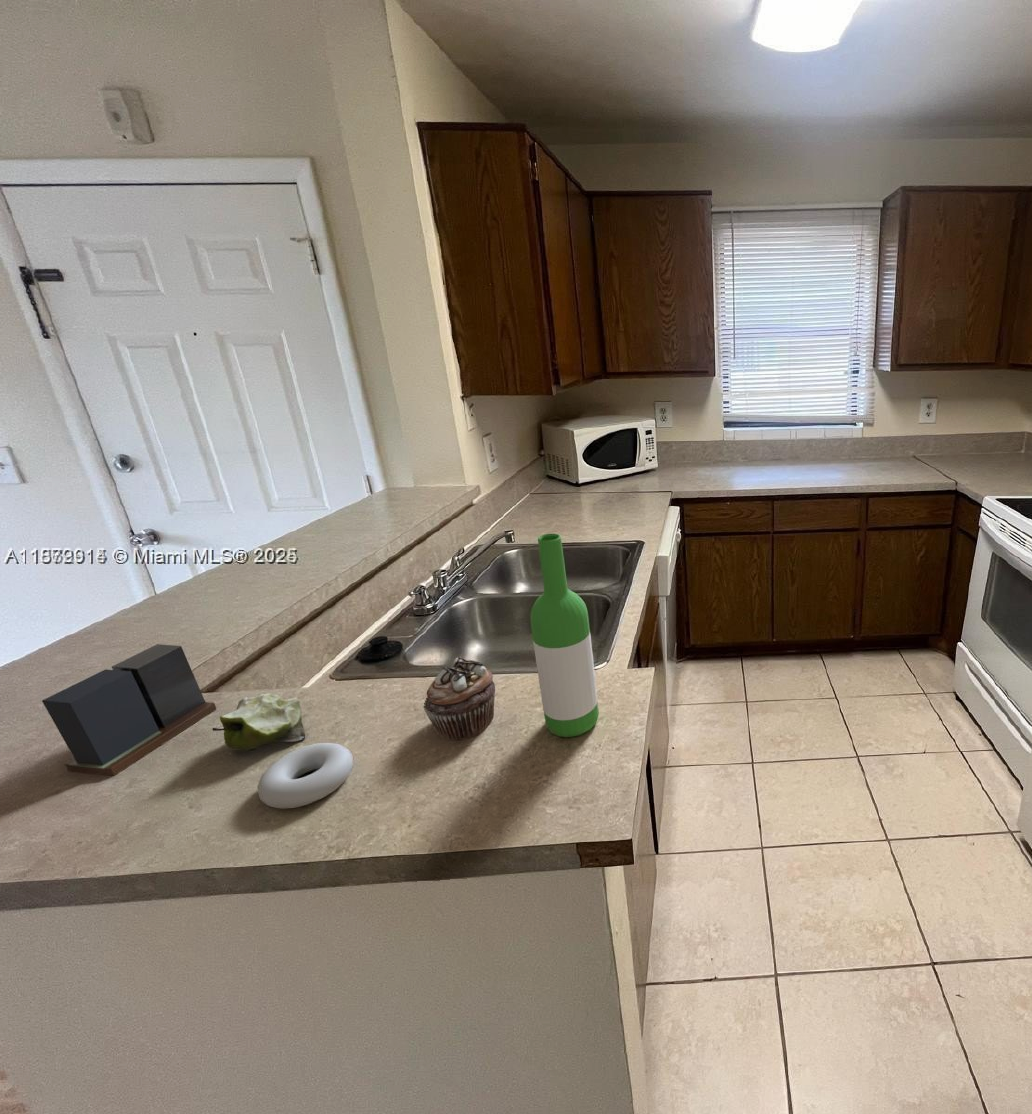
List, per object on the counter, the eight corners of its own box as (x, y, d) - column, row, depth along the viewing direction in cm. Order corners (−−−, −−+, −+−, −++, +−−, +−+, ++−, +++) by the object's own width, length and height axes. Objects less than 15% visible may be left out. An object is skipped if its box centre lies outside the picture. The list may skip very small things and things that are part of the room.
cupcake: (458, 698, 90) (446, 645, 86) (513, 707, 89) (503, 652, 85) (414, 738, 82) (399, 680, 78) (474, 749, 80) (461, 690, 76)
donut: (243, 802, 71) (297, 824, 68) (233, 781, 70) (289, 802, 66) (322, 750, 80) (374, 767, 76) (315, 730, 78) (367, 747, 75)
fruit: (245, 777, 76) (209, 733, 73) (235, 748, 82) (201, 707, 79) (321, 733, 82) (291, 691, 78) (306, 709, 88) (277, 669, 84)
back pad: (103, 765, 74) (69, 703, 70) (76, 762, 75) (41, 700, 71) (159, 730, 81) (131, 671, 77) (134, 727, 81) (105, 669, 77)
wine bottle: (543, 743, 81) (513, 550, 69) (548, 710, 88) (522, 528, 76) (598, 736, 83) (578, 545, 71) (600, 704, 90) (581, 525, 78)
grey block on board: (66, 771, 75) (26, 702, 71) (176, 705, 88) (148, 643, 84) (113, 776, 74) (75, 706, 70) (217, 709, 87) (190, 646, 83)
